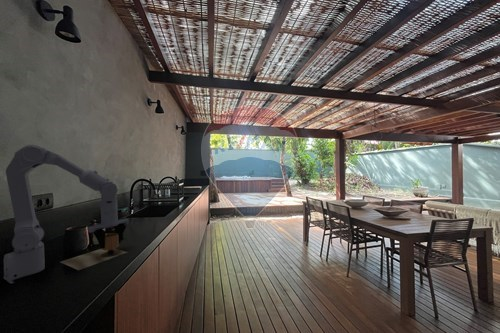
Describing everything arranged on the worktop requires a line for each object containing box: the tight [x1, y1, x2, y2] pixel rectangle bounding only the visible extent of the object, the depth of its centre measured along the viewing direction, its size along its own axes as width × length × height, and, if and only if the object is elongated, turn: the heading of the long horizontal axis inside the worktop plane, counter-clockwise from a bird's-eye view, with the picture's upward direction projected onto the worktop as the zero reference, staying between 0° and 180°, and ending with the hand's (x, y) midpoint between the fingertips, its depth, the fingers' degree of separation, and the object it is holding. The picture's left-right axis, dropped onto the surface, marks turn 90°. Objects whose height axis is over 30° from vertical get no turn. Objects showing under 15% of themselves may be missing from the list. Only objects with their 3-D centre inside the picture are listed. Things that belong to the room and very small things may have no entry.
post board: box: [60, 248, 128, 271], centre depth 85 cm, size 17×15×6 cm
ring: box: [101, 232, 120, 250], centre depth 88 cm, size 6×6×5 cm
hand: (110, 245), depth 88 cm, fingers closed on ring, 5 cm apart
